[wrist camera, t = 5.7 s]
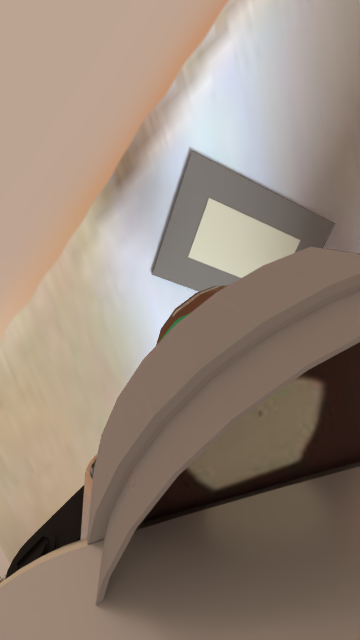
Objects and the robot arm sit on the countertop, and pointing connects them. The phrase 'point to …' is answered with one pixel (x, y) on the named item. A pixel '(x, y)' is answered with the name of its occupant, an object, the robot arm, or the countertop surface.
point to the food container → (234, 397)
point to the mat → (230, 228)
